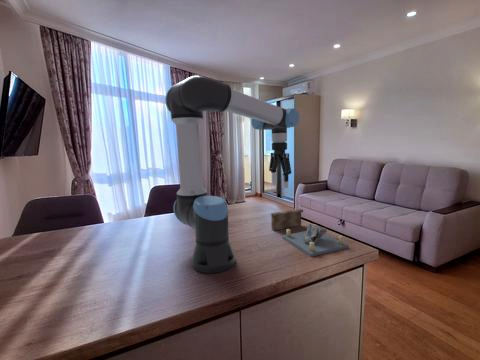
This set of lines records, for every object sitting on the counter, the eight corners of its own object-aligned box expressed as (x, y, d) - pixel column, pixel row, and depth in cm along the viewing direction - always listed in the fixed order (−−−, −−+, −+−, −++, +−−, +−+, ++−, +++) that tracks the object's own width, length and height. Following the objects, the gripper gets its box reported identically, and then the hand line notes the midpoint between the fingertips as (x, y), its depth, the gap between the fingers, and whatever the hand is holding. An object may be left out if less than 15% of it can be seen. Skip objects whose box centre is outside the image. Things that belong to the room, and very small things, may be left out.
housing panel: (274, 231, 118) (274, 214, 116) (271, 229, 120) (271, 212, 119) (303, 226, 123) (303, 210, 122) (299, 224, 126) (299, 208, 125)
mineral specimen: (307, 250, 105) (328, 251, 98) (295, 240, 102) (315, 241, 94) (313, 230, 110) (333, 229, 102) (302, 220, 107) (321, 219, 99)
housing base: (310, 256, 91) (311, 245, 91) (282, 238, 110) (282, 229, 109) (348, 247, 98) (348, 237, 97) (315, 231, 116) (315, 223, 116)
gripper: (299, 141, 113) (299, 189, 117) (274, 142, 134) (274, 182, 137) (285, 141, 111) (285, 190, 114) (262, 142, 131) (262, 183, 135)
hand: (279, 186), depth 126 cm, fingers open, 10 cm apart
